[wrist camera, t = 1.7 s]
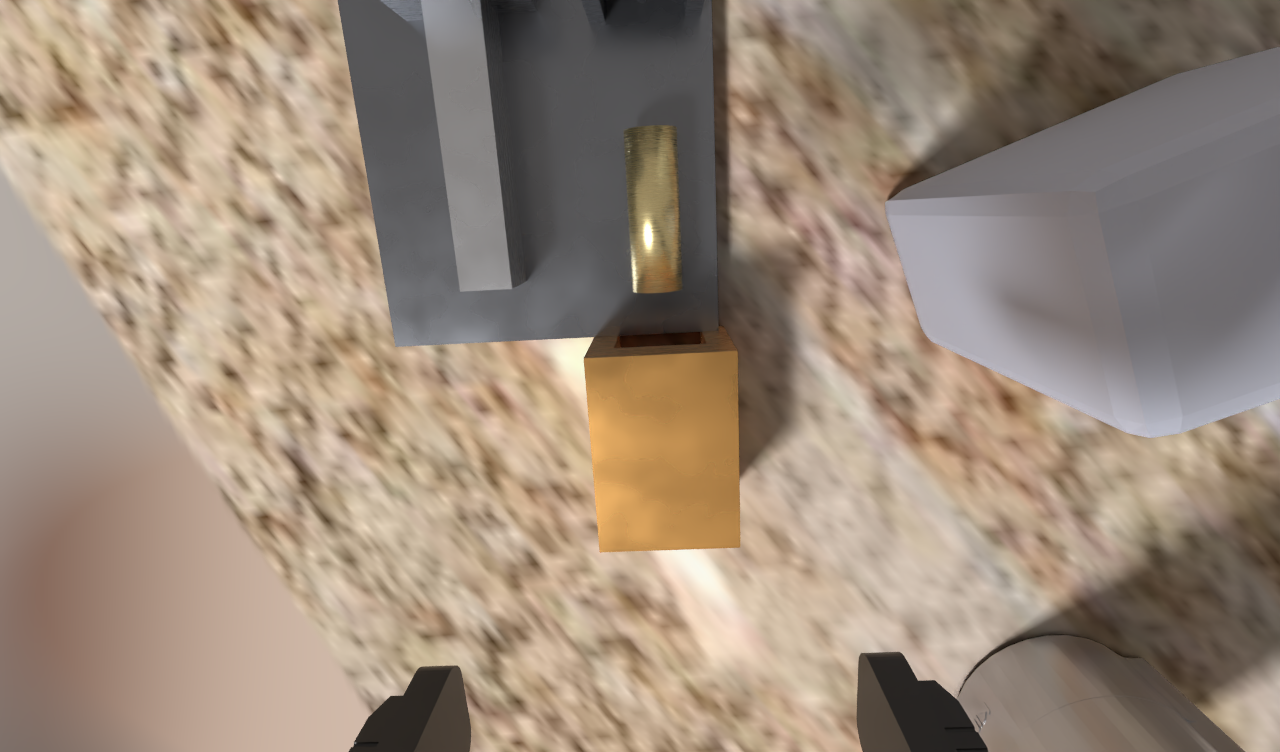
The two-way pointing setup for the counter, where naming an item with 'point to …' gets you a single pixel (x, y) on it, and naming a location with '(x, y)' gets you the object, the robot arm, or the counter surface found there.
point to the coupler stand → (530, 162)
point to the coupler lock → (665, 443)
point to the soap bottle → (1117, 252)
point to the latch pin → (653, 208)
